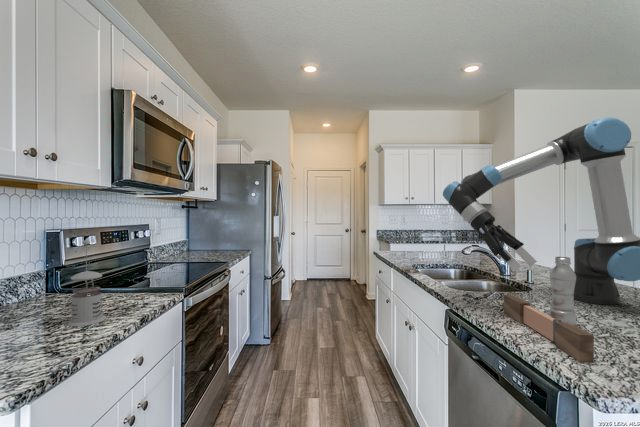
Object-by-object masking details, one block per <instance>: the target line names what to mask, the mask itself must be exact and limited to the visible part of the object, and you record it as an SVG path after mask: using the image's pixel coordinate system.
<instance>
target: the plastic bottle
mask: <svg viewBox="0 0 640 427" xmlns="http://www.w3.org/2000/svg"><path fill="white" fill-rule="evenodd" d="M554 257H555V259H554V260H555V261H554V264H555V266H553V268H552V269H551V270H550V271H549V272H550V273H549V279H550V280H549V281H550V287H551V303H550V308H549V312H548V313H549V314H548V316H550V317H552V318H554V319H558V320H561V321H562V322H568V323H570V324H572V325H574V326H575V324H576V323H577V322H576V321H577V314H576V311H575V301H574V300H575V299H574V288H575V283H576V274H575V272H574V269H573V268H572V267H571V264H572V262H571V257H568V256H554Z"/></svg>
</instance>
